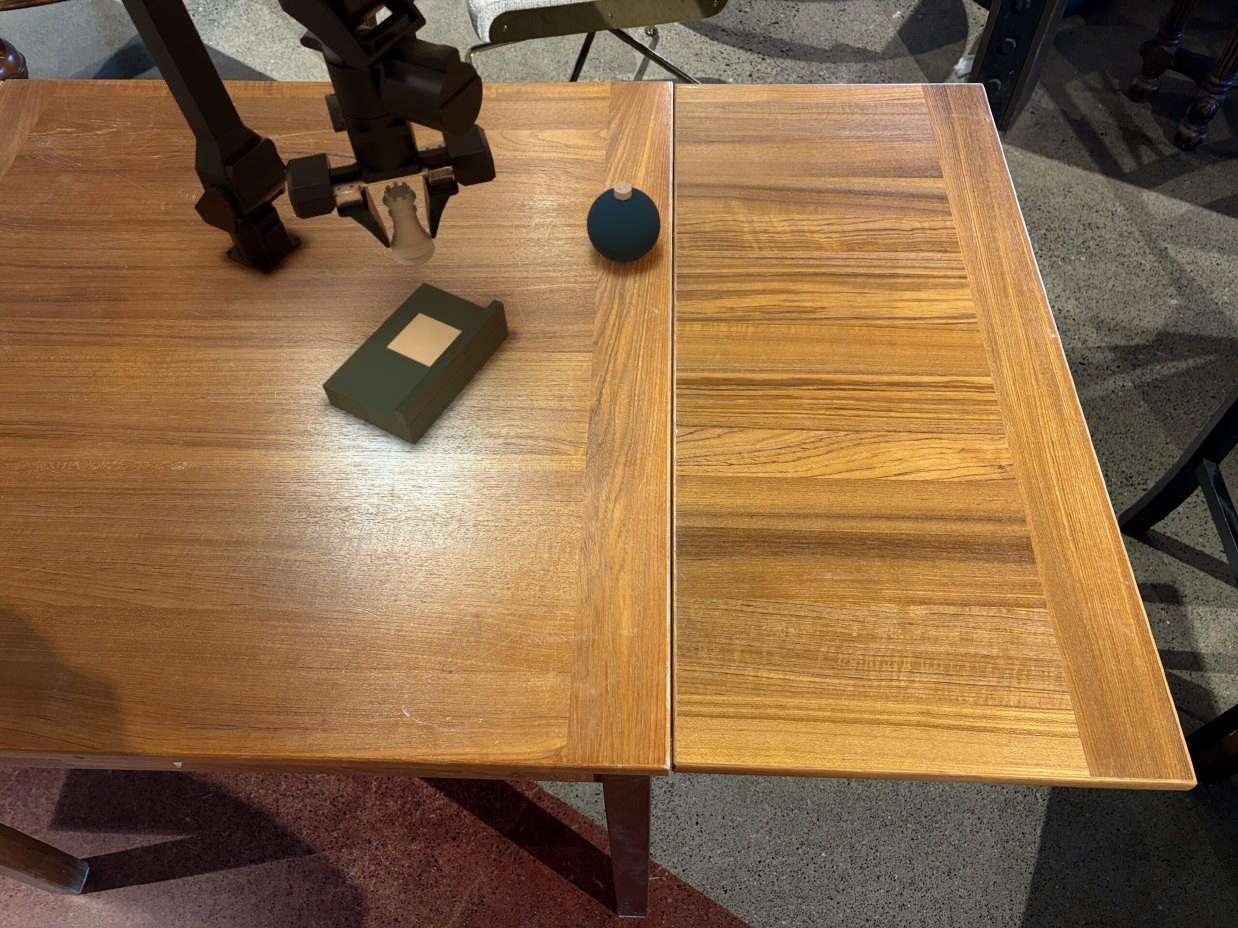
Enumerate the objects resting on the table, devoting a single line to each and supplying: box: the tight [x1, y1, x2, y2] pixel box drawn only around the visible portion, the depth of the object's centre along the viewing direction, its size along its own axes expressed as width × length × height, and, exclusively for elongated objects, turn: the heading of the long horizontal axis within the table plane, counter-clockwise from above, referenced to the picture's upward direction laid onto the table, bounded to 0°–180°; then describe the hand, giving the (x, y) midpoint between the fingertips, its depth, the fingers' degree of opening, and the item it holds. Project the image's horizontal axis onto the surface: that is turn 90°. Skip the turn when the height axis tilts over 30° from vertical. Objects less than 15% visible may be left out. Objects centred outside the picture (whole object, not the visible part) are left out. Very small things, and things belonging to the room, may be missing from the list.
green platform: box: [322, 281, 510, 446], centre depth 93 cm, size 11×17×5 cm, turn 150°
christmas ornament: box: [586, 181, 662, 264], centre depth 101 cm, size 8×8×10 cm
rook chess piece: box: [381, 181, 436, 268], centre depth 89 cm, size 4×4×8 cm
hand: (411, 240), depth 90 cm, fingers closed on rook chess piece, 4 cm apart
